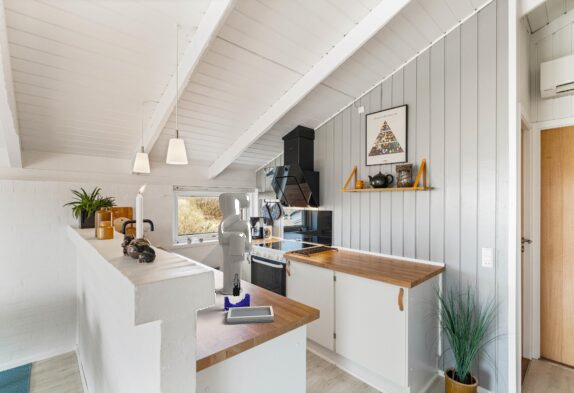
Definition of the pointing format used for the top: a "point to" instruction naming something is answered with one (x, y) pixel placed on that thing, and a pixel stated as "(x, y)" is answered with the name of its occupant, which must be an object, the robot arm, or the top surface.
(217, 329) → the top surface
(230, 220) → the robot arm
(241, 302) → the blue long irregular block
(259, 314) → the shallow rectangular tray
